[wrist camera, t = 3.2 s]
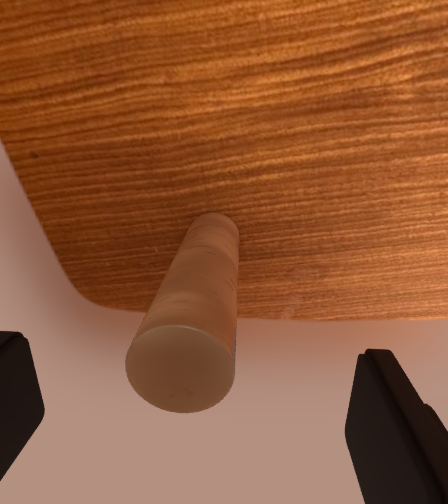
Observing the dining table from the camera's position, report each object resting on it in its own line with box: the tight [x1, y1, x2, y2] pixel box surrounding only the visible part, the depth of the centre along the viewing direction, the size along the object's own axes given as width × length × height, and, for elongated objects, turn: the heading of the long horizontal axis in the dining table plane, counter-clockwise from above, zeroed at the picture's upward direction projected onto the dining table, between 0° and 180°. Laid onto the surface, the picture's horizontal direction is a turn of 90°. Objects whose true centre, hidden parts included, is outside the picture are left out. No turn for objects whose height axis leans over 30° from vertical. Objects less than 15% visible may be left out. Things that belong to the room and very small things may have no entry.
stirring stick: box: [125, 212, 239, 413], centre depth 15 cm, size 3×3×12 cm
